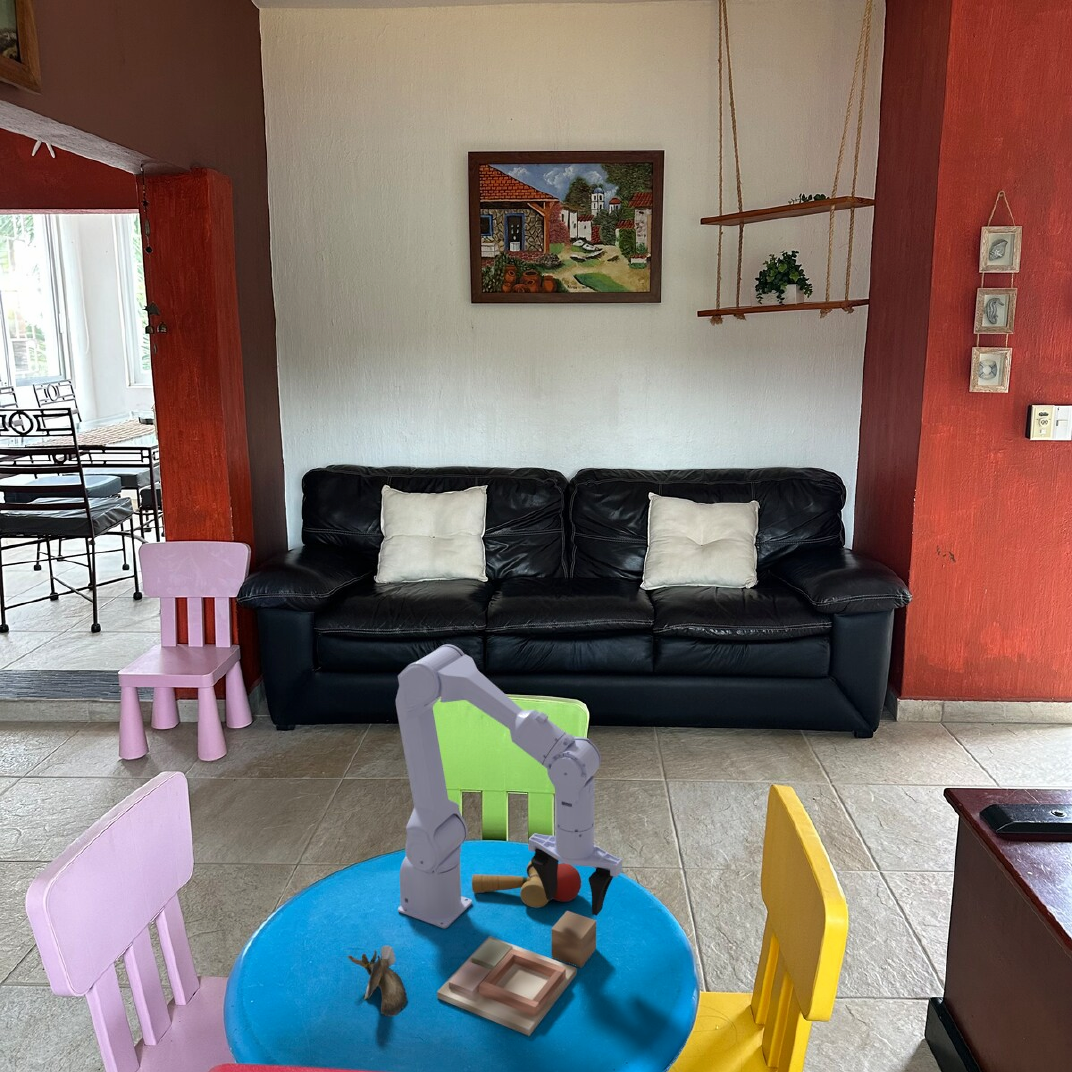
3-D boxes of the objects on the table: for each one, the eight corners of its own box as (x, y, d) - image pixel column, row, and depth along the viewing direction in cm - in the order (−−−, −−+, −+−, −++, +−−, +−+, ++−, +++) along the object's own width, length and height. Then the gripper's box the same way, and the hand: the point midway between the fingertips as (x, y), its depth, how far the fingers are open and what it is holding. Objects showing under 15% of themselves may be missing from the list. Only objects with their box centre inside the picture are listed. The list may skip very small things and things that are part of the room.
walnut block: (551, 957, 146) (551, 928, 145) (566, 939, 151) (566, 910, 149) (581, 968, 144) (581, 939, 143) (596, 949, 148) (596, 920, 147)
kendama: (470, 915, 158) (580, 909, 156) (466, 877, 158) (575, 871, 155) (480, 895, 166) (585, 889, 163) (476, 859, 166) (581, 852, 163)
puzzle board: (437, 997, 138) (436, 982, 137) (489, 941, 150) (489, 927, 149) (529, 1035, 131) (529, 1020, 130) (576, 973, 143) (576, 959, 142)
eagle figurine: (335, 983, 139) (357, 1011, 132) (356, 934, 141) (379, 959, 133) (380, 994, 143) (404, 1022, 135) (400, 946, 144) (425, 971, 137)
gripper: (631, 821, 142) (629, 903, 145) (544, 797, 149) (544, 876, 152) (610, 845, 136) (609, 930, 139) (520, 818, 143) (521, 900, 146)
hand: (574, 903), depth 145 cm, fingers open, 7 cm apart
